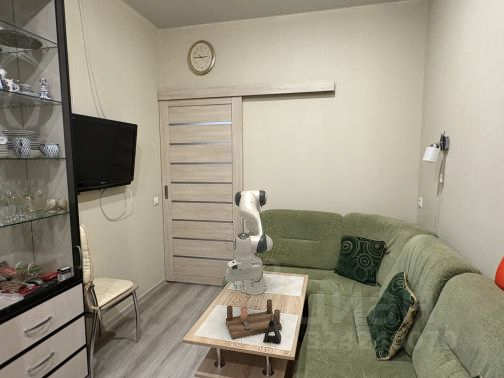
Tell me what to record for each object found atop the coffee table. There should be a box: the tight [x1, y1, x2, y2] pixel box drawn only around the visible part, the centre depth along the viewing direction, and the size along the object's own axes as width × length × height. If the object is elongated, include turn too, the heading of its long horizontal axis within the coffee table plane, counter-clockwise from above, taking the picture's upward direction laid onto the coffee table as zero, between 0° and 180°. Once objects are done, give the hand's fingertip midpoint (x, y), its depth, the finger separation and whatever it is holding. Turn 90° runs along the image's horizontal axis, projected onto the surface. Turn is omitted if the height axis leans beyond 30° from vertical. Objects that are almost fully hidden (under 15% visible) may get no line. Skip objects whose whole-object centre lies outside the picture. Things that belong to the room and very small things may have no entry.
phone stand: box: [262, 316, 282, 345], centre depth 158 cm, size 9×6×12 cm, turn 79°
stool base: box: [225, 299, 283, 340], centre depth 171 cm, size 16×28×10 cm, turn 107°
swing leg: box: [239, 306, 250, 330], centre depth 167 cm, size 10×4×8 cm, turn 17°
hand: (243, 287), depth 168 cm, fingers open, 8 cm apart
